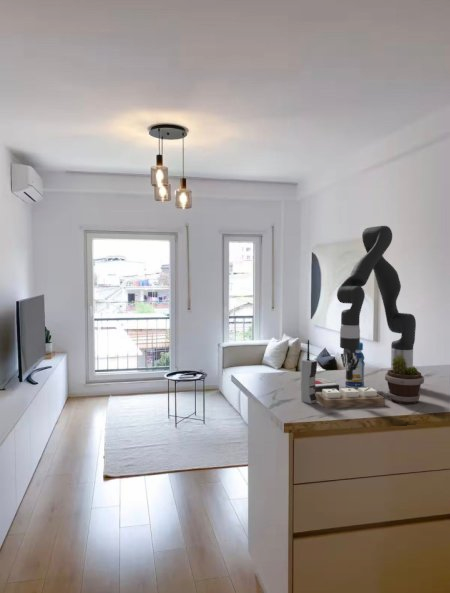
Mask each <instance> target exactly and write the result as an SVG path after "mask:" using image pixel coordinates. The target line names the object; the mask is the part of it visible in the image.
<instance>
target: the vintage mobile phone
mask: <svg viewBox="0 0 450 593" xmlns="http://www.w3.org/2000/svg"><path fill="white" fill-rule="evenodd" d="M317 369H318V360H313V359H310V339H307V351H306V359H302V360H301V370H300V371H301V372H300V373H301V376H300V377H301V380H300V386H301V387H300V388H301V391H300V392H301V397H300V399H301V402H302V403H307V404H310V405H311V404H315V403H317V402H318V401H317V398H316V395H315V379H316V374H317Z"/></svg>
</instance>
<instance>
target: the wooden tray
mask: <svg viewBox="0 0 450 593" xmlns="http://www.w3.org/2000/svg"><path fill="white" fill-rule="evenodd" d="M339 392H340V390H339ZM315 395H316V398H317V402H318V403H319V404H320V405H321V406H322V405H323V406H322V407H323V408H325V409H333V408H335V409H336V408H337V409H338V408H339V409H340V408H356V407H357V408H358V407H359V408H360V407H361V408H362V407H379V406H386V397H384V396H383V395H380V394H379V393H377V396H370V397H363V396H361V395H359V397H343V396H342V395H341V398H325V397H324V396H323V395H322V392H315Z"/></svg>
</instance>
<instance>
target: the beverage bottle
mask: <svg viewBox="0 0 450 593" xmlns="http://www.w3.org/2000/svg"><path fill="white" fill-rule="evenodd" d="M363 350H364V343H363V342H361V341H360V348H359V349H356V359H359V362H358V365H357V367H356V370H353V379H352V380H347V379H346V374H345V376H344V377H345V380H344V381H345V383H344V384H345V387H346V388H354V389H358V388H365V364H366V363H365V355H364V353H363V352H362V351H363Z"/></svg>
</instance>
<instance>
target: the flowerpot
mask: <svg viewBox="0 0 450 593" xmlns="http://www.w3.org/2000/svg"><path fill="white" fill-rule="evenodd" d="M396 356H397V355H396ZM402 356H403V355H401V356H400V354H399V355H398V356H397V357H396V358H394V360H392V361H393V363H392V366H393V370H391V369H388V370H387V372H386V373H385V374H384V380H385V381H386V382H387V385H388V386H387V387H388V392H387V394H388V397H389V398H390V401H392V402H394V403H397V404H401V405H414V404H416V403H417V402H418V401H419V400H420V398H421V394H420V389H421V385H422V384H424V383H425V378H424V376H423V375H422V373H421V371H418V367H416V366H415V365H414V364H413V366H415V367H411V366H410V367H409V366H408V367H409V368H408V367H406V366H405V365H407V364H405V362H406V361H405V359H403V358H402Z"/></svg>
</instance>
